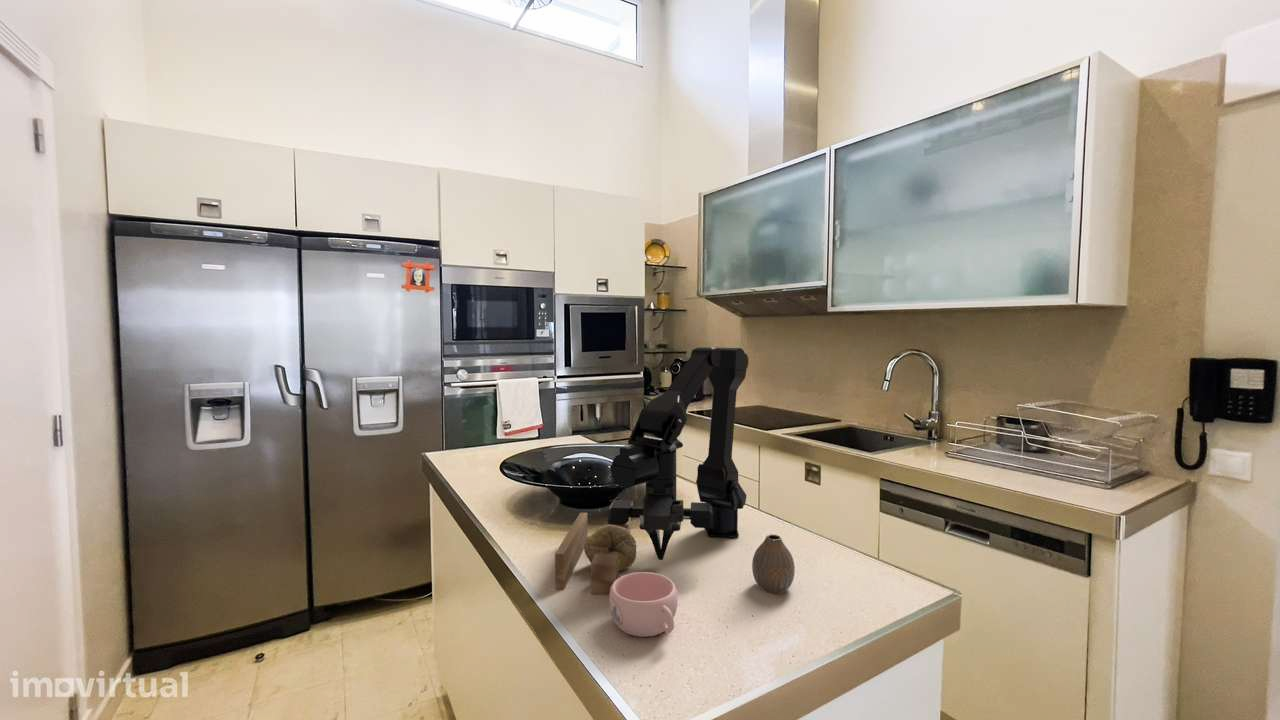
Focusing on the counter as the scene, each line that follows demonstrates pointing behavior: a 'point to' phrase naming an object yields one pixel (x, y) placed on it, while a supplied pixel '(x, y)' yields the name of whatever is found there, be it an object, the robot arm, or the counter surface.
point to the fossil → (612, 544)
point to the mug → (643, 603)
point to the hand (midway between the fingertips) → (660, 559)
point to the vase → (773, 565)
